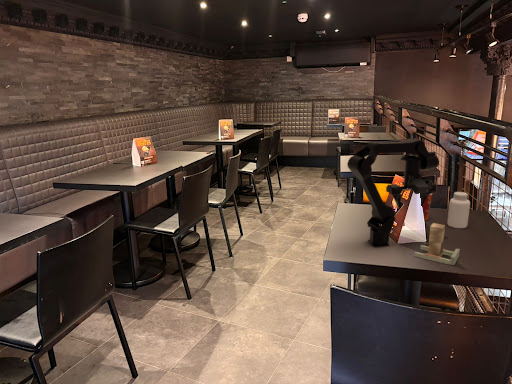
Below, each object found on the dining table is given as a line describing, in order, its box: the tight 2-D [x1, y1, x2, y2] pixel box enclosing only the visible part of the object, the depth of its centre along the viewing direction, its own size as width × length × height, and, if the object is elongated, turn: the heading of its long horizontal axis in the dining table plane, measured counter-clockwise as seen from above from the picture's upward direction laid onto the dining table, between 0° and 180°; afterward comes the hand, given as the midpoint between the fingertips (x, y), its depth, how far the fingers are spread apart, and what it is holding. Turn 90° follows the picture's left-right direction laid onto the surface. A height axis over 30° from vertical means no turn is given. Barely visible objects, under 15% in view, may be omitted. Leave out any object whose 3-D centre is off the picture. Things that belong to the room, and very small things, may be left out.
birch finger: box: [427, 222, 446, 258], centre depth 135 cm, size 4×4×12 cm
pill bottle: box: [447, 191, 471, 229], centre depth 163 cm, size 8×8×15 cm
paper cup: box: [422, 194, 433, 221], centre depth 174 cm, size 8×8×14 cm
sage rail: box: [413, 244, 461, 266], centre depth 136 cm, size 13×8×3 cm, turn 51°
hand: (409, 208), depth 150 cm, fingers open, 9 cm apart
